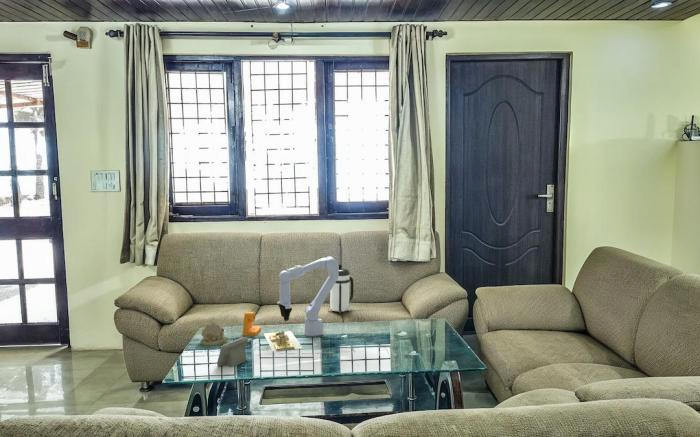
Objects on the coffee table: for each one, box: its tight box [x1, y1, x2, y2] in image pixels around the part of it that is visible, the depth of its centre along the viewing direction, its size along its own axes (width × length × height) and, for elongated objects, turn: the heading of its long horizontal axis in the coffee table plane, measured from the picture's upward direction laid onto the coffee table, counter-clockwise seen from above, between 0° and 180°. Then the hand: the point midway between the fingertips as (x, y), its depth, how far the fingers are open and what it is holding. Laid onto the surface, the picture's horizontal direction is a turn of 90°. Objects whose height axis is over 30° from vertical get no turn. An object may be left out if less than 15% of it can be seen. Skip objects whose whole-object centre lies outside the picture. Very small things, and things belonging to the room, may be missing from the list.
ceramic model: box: [200, 322, 229, 346], centre depth 266 cm, size 14×11×10 cm
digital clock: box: [216, 336, 249, 368], centre depth 238 cm, size 16×9×11 cm, turn 136°
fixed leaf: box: [274, 335, 296, 352], centre depth 259 cm, size 9×13×4 cm
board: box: [263, 330, 303, 352], centre depth 267 cm, size 15×28×1 cm, turn 18°
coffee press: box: [327, 264, 354, 316], centre depth 324 cm, size 17×16×30 cm
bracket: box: [242, 311, 262, 337], centre depth 279 cm, size 11×7×12 cm, turn 174°
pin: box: [278, 330, 285, 338], centre depth 262 cm, size 2×2×6 cm
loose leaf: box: [269, 331, 289, 341], centre depth 270 cm, size 9×8×4 cm
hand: (284, 318), depth 274 cm, fingers open, 7 cm apart
